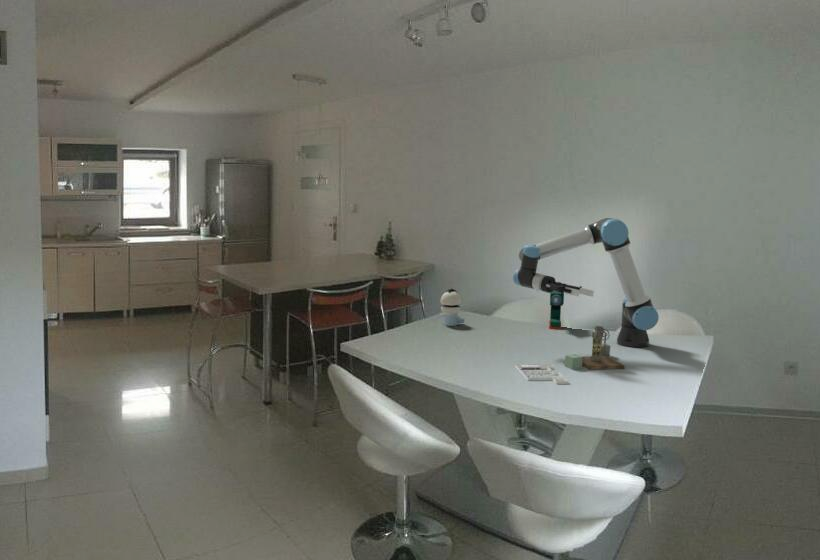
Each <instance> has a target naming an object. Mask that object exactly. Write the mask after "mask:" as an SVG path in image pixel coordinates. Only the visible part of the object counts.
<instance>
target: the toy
mask: <svg viewBox="0 0 820 560" xmlns="http://www.w3.org/2000/svg"><path fill="white" fill-rule="evenodd" d="M439 303H440V304H441V305H442V306H441V307H440V310H441V313H439V316H440V317H443V326H448V327H455V326H457V325H458V324H464V323H465V318H464V317H461V316H459V315H458V314H459V313H460V311H461V305H460V304H462V298H461V296H460V294H459V292H458V291H457V290H456V289H454V288H449V289H447V290H446V291H445V292H444V293H443V294H442V296H441V298H440V301H439Z"/></svg>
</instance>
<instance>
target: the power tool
mask: <svg viewBox="0 0 820 560" xmlns="http://www.w3.org/2000/svg"><path fill="white" fill-rule="evenodd" d="M549 295H550V297H549V306H550V314H549V315H550V316H549V317H550V318H549V320H548V329H550V330H562V321H561V308H562V307H563V305H564V300H565V293H564V294H561V292H557V291H554V290H553V291H552V292H551V293H549Z"/></svg>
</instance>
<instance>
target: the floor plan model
mask: <svg viewBox="0 0 820 560" xmlns="http://www.w3.org/2000/svg"><path fill="white" fill-rule="evenodd" d="M515 369H517V370H518V372H519V373H520V374H521V375H522V377H524V379H526V381H552V382H553V383H555V385H568V384H569V380H568V379H567V378H566V377H565V376H563V375H562V373H560V372H559V371H553V370H554V365H552V363H551V364H550V363H548V364H547V363H546V364H543V363H542V364H540V363H539V364H536V363H535V364H515ZM525 369H526V370H525ZM527 369H530V370H527ZM533 369H534V370H533ZM536 369H539V370H536ZM534 372H535V374H534ZM529 373H530V374H529ZM536 373H537V374H540V376H538V375H537V374H536ZM541 373H542V374H541ZM543 374H545V376H543ZM550 374H551V375H550Z"/></svg>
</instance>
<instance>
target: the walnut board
mask: <svg viewBox="0 0 820 560" xmlns="http://www.w3.org/2000/svg"><path fill="white" fill-rule="evenodd" d="M591 356H592V355H589V356H587V355H586V356H581V357H582V367H584V368H585V369H587V370H589V371H590V370H623V369H624V370H625V364H623V363H622V362H621V361H618V360H616V359H615V358H613V357H611V355H610V356H602V361H600V362H596V361H592V360H591Z"/></svg>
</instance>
